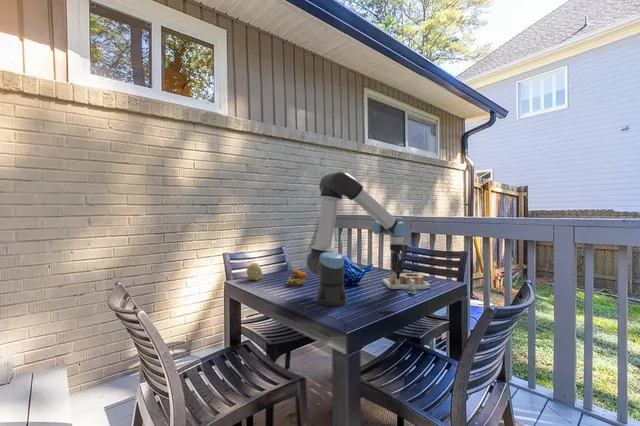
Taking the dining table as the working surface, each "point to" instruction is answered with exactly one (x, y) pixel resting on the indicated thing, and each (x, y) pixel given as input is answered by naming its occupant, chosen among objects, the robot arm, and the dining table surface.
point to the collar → (407, 278)
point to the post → (412, 287)
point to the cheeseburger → (297, 278)
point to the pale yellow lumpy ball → (254, 272)
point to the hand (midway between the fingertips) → (396, 283)
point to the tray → (417, 286)
